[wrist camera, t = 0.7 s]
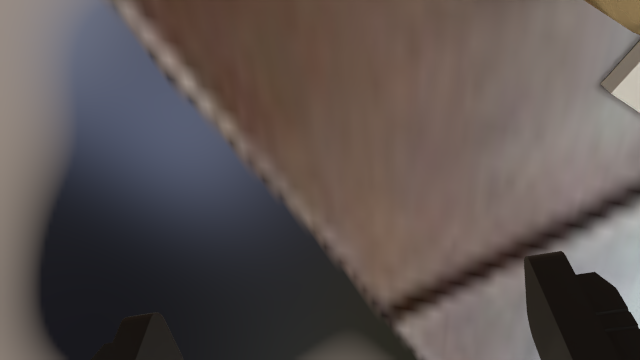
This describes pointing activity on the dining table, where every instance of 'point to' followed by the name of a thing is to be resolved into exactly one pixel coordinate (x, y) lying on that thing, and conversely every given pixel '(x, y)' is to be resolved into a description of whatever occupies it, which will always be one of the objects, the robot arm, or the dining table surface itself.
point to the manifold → (626, 79)
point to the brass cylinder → (621, 12)
